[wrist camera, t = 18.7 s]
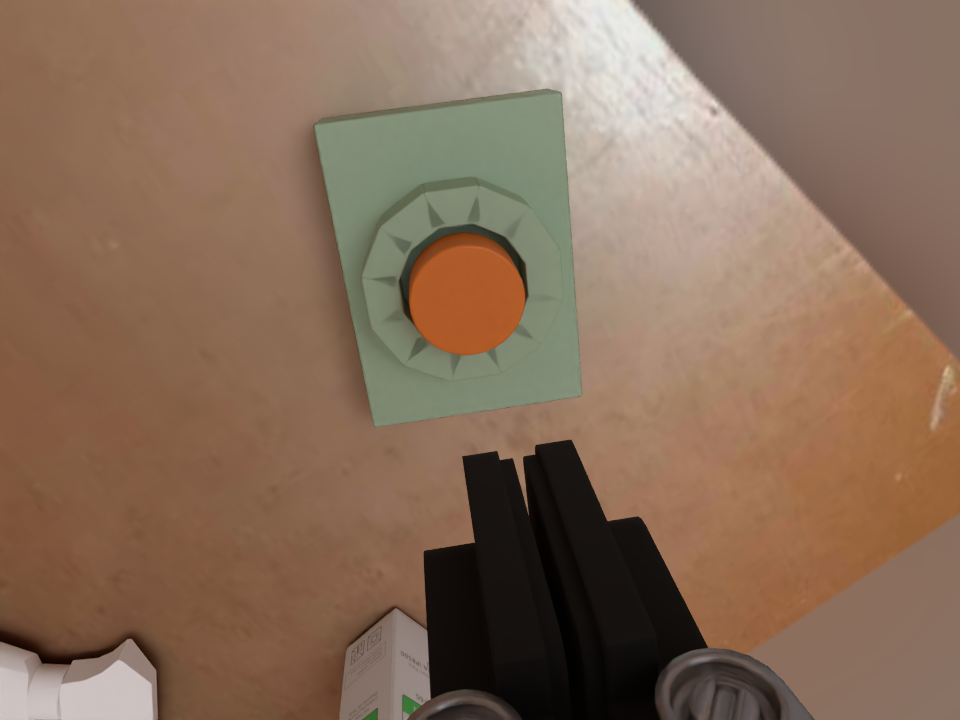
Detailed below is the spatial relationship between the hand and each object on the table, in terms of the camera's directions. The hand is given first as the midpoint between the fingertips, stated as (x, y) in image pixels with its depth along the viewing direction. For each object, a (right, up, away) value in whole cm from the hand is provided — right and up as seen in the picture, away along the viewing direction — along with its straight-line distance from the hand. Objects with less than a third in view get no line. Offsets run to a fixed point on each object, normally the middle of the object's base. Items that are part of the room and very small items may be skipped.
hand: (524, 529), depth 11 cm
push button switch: (-1, +5, +13) cm, 14 cm away
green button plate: (-2, +6, +16) cm, 17 cm away
